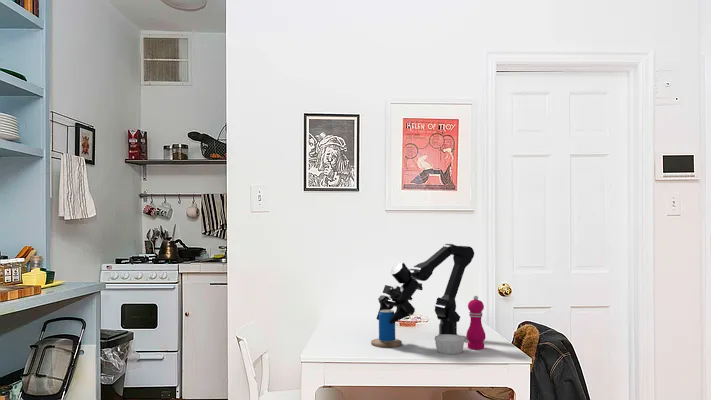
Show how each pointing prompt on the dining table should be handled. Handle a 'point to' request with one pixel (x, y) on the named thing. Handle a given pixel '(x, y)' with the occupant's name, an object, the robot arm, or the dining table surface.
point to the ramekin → (449, 343)
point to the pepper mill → (475, 325)
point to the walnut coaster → (386, 345)
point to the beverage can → (386, 326)
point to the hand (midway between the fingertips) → (383, 321)
